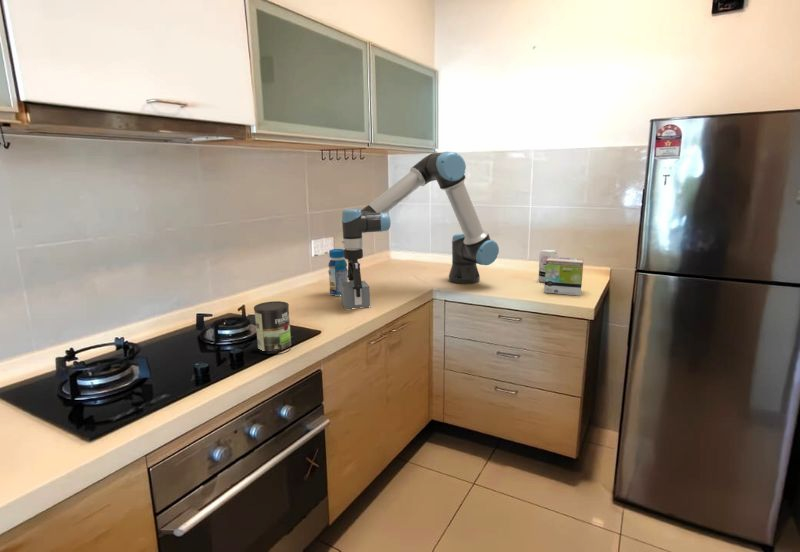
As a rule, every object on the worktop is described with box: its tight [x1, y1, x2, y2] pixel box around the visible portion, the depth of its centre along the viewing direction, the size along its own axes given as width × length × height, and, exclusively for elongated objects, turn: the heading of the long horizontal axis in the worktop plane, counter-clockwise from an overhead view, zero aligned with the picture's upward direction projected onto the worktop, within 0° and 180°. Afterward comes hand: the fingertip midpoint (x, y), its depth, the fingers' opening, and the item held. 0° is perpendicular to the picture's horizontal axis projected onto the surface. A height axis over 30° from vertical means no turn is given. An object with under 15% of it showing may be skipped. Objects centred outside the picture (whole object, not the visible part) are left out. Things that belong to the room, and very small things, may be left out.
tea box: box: [543, 256, 584, 297], centre depth 200 cm, size 15×10×15 cm, turn 68°
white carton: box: [537, 248, 559, 284], centre depth 219 cm, size 8×8×15 cm
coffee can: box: [253, 300, 292, 351], centre depth 142 cm, size 10×10×14 cm
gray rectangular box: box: [340, 280, 371, 310], centre depth 188 cm, size 10×10×9 cm
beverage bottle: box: [327, 248, 349, 297], centre depth 204 cm, size 8×8×20 cm
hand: (355, 300), depth 188 cm, fingers open, 13 cm apart
